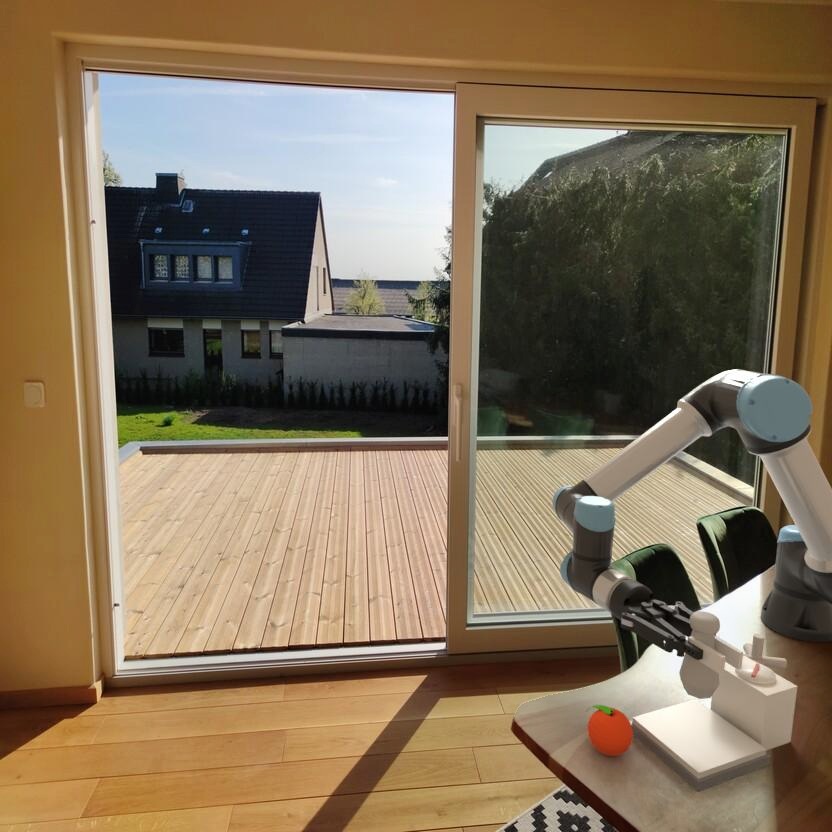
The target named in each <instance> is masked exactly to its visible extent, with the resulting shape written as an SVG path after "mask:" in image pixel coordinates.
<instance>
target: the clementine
mask: <svg viewBox="0 0 832 832" xmlns="http://www.w3.org/2000/svg"><path fill="white" fill-rule="evenodd" d="M591 708H593V709H594V708H596V710H595V711H594V712H593V713H592V715H590V717H589V719H588V721H587V723H588V724H587V733H588V734H587V735H588V738H589V741H590V742H591V744H592V745H593V746H594V748H595V749H596V750H597V751H599V752H600V753H601V754H604V755H606V756H621V755H622V754H623V753H625V752H626V751H628V750H629V748H630V747H631V745H632V742H633V739H634V738H633V737H634V735H633V730H632V726H631V724H630V722H629V721H630V720H629V718H628V716H626V715H625V714H624V713H623V712H621V711H620V710H619V709H617V708H614V707H608V706H605V705H602V704H597V705H595V704H594V705H591V706H590V707H588V708H587V709H586V711H585V713H587V712H588V710H590V709H591Z"/></svg>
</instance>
